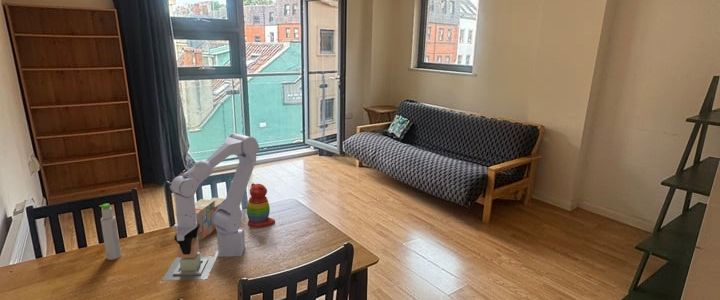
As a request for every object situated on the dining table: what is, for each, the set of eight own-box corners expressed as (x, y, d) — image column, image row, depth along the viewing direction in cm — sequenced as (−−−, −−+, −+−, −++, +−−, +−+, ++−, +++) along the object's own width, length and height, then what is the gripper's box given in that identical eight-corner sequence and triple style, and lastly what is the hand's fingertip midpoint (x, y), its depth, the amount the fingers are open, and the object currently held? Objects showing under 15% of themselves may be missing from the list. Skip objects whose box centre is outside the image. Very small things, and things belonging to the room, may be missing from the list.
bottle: (109, 254, 145) (101, 202, 139) (122, 252, 146) (115, 201, 140) (104, 260, 140) (96, 207, 135) (118, 259, 142) (111, 206, 136)
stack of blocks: (214, 216, 176) (213, 190, 173) (228, 218, 175) (226, 192, 172) (184, 240, 156) (182, 210, 153) (199, 242, 155) (197, 212, 152)
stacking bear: (277, 223, 172) (276, 184, 167) (258, 231, 165) (256, 190, 160) (260, 215, 179) (259, 177, 174) (241, 223, 171) (239, 184, 166)
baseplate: (217, 257, 145) (217, 254, 144) (206, 280, 131) (206, 277, 131) (176, 258, 143) (176, 255, 143) (161, 281, 130) (161, 278, 130)
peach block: (199, 249, 138) (198, 237, 137) (194, 257, 134) (193, 245, 132) (184, 249, 138) (182, 237, 137) (179, 257, 133) (177, 245, 132)
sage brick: (200, 263, 140) (199, 251, 139) (196, 271, 135) (195, 259, 134) (185, 263, 139) (184, 252, 138) (180, 272, 135) (179, 260, 133)
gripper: (180, 203, 138) (183, 239, 142) (164, 222, 124) (169, 261, 128) (201, 203, 139) (204, 238, 143) (188, 222, 125) (192, 261, 129)
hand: (189, 249), depth 135 cm, fingers closed on peach block, 5 cm apart
